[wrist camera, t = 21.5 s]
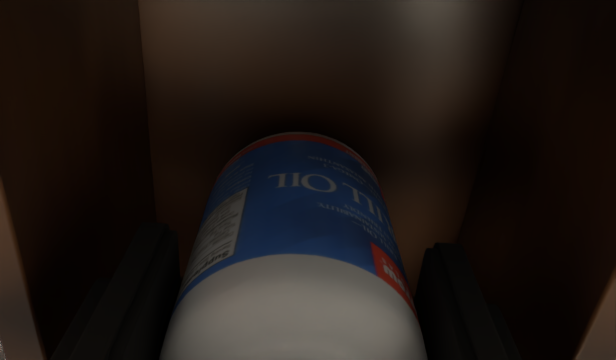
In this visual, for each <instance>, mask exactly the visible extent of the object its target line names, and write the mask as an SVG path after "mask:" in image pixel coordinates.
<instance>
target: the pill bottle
mask: <svg viewBox="0 0 616 360" xmlns="http://www.w3.org/2000/svg"><path fill="white" fill-rule="evenodd" d="M159 360H428V357H427V353H426V348H425V344H424V339H423V335H422V331H421V327H420V323H419V320H418V316H417V311H416V309H415V305H414V301H413V298H412V294H411V291H410V288H409V283H408V280H407V277H406V273H405V270H404V266H403V263H402V258H401V256H400V253H399V249H398V246H397V242H396V239H395V235H394V232H393V228H392V224H391V220H390V217H389V213H388V209H387V205H386V202H385V198H384V195H383V192H382V189H381V186H380V184H379V182H378V180H377V178H376V176H375V174H374V173H373V171H372V169H371V168H370V166H369V165H368V164H367V163H366V162H365V160H364V159H363V158H362V157H361V156H360V155H359V154H357V153H356V152H355V151H354V150H352V149H351V148H350V147H348V146H347V145H345V144H343V143H341V142H339V141H338V140H336V139H333V138H330V137H327V136H324V135H321V134H317V133H311V132H285V133H279V134H275V135H271V136H267V137H264V138H262V139H259V140H257V141H255V142H253V143H251V144H250V145H248V146H246V147H245V148H243V149H242V150H241V151H239V152H238V153H237V154H236V155H235V156H234V157H232V158H231V160H230V161H229V162H228V163H227V164H226V165H225V166H224V168H223V169H222V171H221V172H220V174H219V175H218V177H217V179H216V181H215V183H214V185H213V187H212V190H211V193H210V195H209V198H208V201H207V204H206V208H205V211H204V214H203V218H202V221H201V224H200V227H199V231H198V234H197V237H196V240H195V243H194V246H193V249H192V252H191V255H190V258H189V261H188V264H187V268H186V271H185V274H184V277H183V280H182V283H181V286H180V289H179V292H178V296H177V299H176V302H175V305H174V308H173V310H172V314H171V317H170V321H169V324H168V328H167V331H166V334H165V338H164V341H163V345H162V348H161V352H160V356H159Z"/></svg>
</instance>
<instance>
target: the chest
mask: <svg viewBox="0 0 616 360" xmlns="http://www.w3.org/2000/svg"><path fill="white" fill-rule="evenodd" d="M285 132H311V133H317V134H321V135H324V136H327V137H330V138H333V139H336V140H338V141H339V142H341V143H343V144H345V145H347V146H348V147H350V148H351V149H352V150H354V151H355V152H356V153H357V154H359V155H360V156H361V157H362V158H363V159H364V160H365V162H366V163H367V164H368V165H369V166H370V168H371V169H372V171H373V173H374V174H375V176H376V178H377V180H378V182H379V184H380V186H381V189H382V192H383V195H384V198H385V202H386V205H387V209H388V213H389V217H390V220H391V224H392V228H393V232H394V235H395V239H396V242H397V246H398V249H399V253H400V256H401V258H402V263H403V266H404V270H405V273H406V277H407V280H408V283H409V288H410V291H411V294H412V298H413V301H414V298H415V293H416V289H417V284H418V280H419V275H420V271H421V266H422V262H423V257H424V253H425V250H426V248H433V247H434V245H435V243H436V242H439V243H454V244H461V245H462V246H463V248H464V251H465V253H466V256H467V258H468V261H469V263H470V265H471V268H472V270H473V273H474V275H475V278H476V280H477V283H478V285H479V288H480V290H481V292H482V295H483V297H484V300H485V302H486V303H489V304H495V305H497V306H498V307H499V309H500V311H501V313H502V315H503V317H504V319H505V322H506V324H507V326H508V329H509V331H510V333H511V336H512V338H513V340H514V342H515V345H516V347H517V349H518V352H519V354H520V356H521V359H522V360H616V0H0V340H1V344H2V347H3V350H4V353H5V356H6V360H50V359H51V357H52V355H53V353H54V352H55V350H56V348H57V346H58V345H59V343H60V341H61V339H62V338H63V336H64V334H65V332H66V331H67V329H68V327H69V325H70V324H71V322H72V320H73V318H74V317H75V315H76V313H77V311H78V310H79V308H80V306H81V304H82V303H83V301H84V299H85V297H86V296H87V294H88V292H89V290H90V289H91V287H92V285H93V284H94V282H95V281H96V280H97V279H98V278H100V277H103V278H112V277H113V275H114V273H115V271H116V269H117V267H118V266H119V264H120V262H121V260H122V258H123V256H124V254H125V252H126V251H127V249H128V247H129V245H130V243H131V241H132V239H133V237H134V236H135V234H136V232H137V230H138V228H139V226H140V225H141V223H142V222H152V223H166V224H168V225H169V228H170V230H175V231H177V233H178V247H179V265H180V282H181V283H182V280H183V277H184V274H185V271H186V268H187V264H188V261H189V258H190V255H191V252H192V249H193V246H194V243H195V240H196V237H197V234H198V231H199V227H200V224H201V221H202V218H203V214H204V211H205V208H206V204H207V201H208V198H209V195H210V193H211V190H212V187H213V185H214V183H215V181H216V179H217V177H218V175H219V174H220V172H221V171H222V169H223V168H224V166H225V165H226V164H227V163H228V162H229V161H230V160H231V158H232V157H234V156H235V155H236V154H237V153H238V152H239V151H241V150H242V149H243V148H245V147H246V146H248V145H250V144H251V143H253V142H255V141H257V140H259V139H262V138H264V137H267V136H271V135H275V134H279V133H285Z"/></svg>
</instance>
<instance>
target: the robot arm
mask: <svg viewBox="0 0 616 360" xmlns="http://www.w3.org/2000/svg"><path fill="white" fill-rule="evenodd" d="M180 286H181V282H180V265H179V247H178V233H177V231H175V230H170V228H169V225H168V224H166V223H152V222H142V223H141V225H140V226H139V228H138V230H137V232H136V234H135V236H134V237H133V239H132V241H131V243H130V245H129V247H128V249H127V251H126V252H125V254H124V256H123V258H122V260H121V262H120V264H119V266H118V267H117V269H116V271H115V273H114V275H113V277H112V278H103V277H100V278H98V279H97V280H96V281H95V282H94V284H93V285H92V287H91V289H90V290H89V292H88V294H87V296H86V297H85V299H84V301H83V303H82V304H81V306H80V308H79V310H78V311H77V313H76V315H75V317H74V318H73V320H72V322H71V324H70V325H69V327H68V329H67V331H66V332H65V334H64V336H63V338H62V339H61V341H60V343H59V345H58V346H57V348H56V350H55V352H54V353H53V355H52V357H51V359H50V360H159V356H160V352H161V348H162V345H163V341H164V338H165V334H166V331H167V328H168V324H169V321H170V317H171V314H172V310H173V308H174V305H175V302H176V299H177V296H178V292H179V289H180ZM414 305H415V309H416V311H417V316H418V320H419V323H420V327H421V331H422V335H423V339H424V344H425V348H426V353H427V357H428V360H522V359H521V356H520V354H519V352H518V349H517V347H516V345H515V342H514V340H513V338H512V336H511V333H510V331H509V329H508V326H507V324H506V322H505V319H504V317H503V315H502V313H501V311H500V309H499V307H498V306H497V305H495V304H489V303H486V302H485V300H484V297H483V295H482V292H481V290H480V288H479V285H478V283H477V280H476V278H475V275H474V273H473V270H472V268H471V265H470V263H469V261H468V258H467V256H466V253H465V251H464V248H463V246H462V245H461V244H454V243H439V242H436V243H435V245H434V247H433V248H426V250H425V253H424V257H423V262H422V266H421V271H420V275H419V280H418V284H417V289H416V293H415V298H414Z"/></svg>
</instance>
